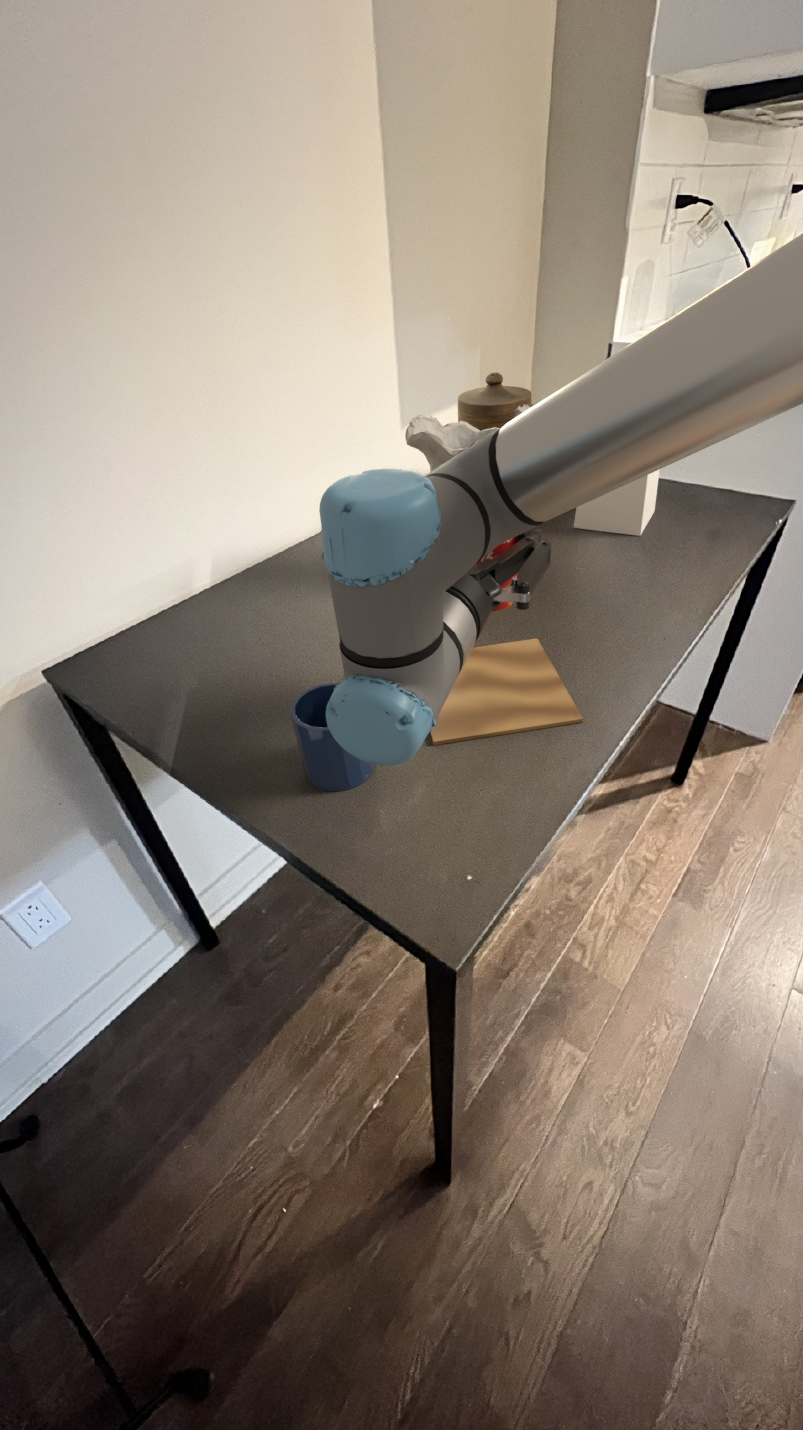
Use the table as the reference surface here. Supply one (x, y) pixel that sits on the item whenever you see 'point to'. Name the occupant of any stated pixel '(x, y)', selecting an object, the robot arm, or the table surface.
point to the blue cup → (324, 744)
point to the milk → (621, 508)
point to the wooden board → (504, 694)
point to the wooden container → (491, 403)
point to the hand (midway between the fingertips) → (502, 519)
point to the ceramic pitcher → (445, 437)
